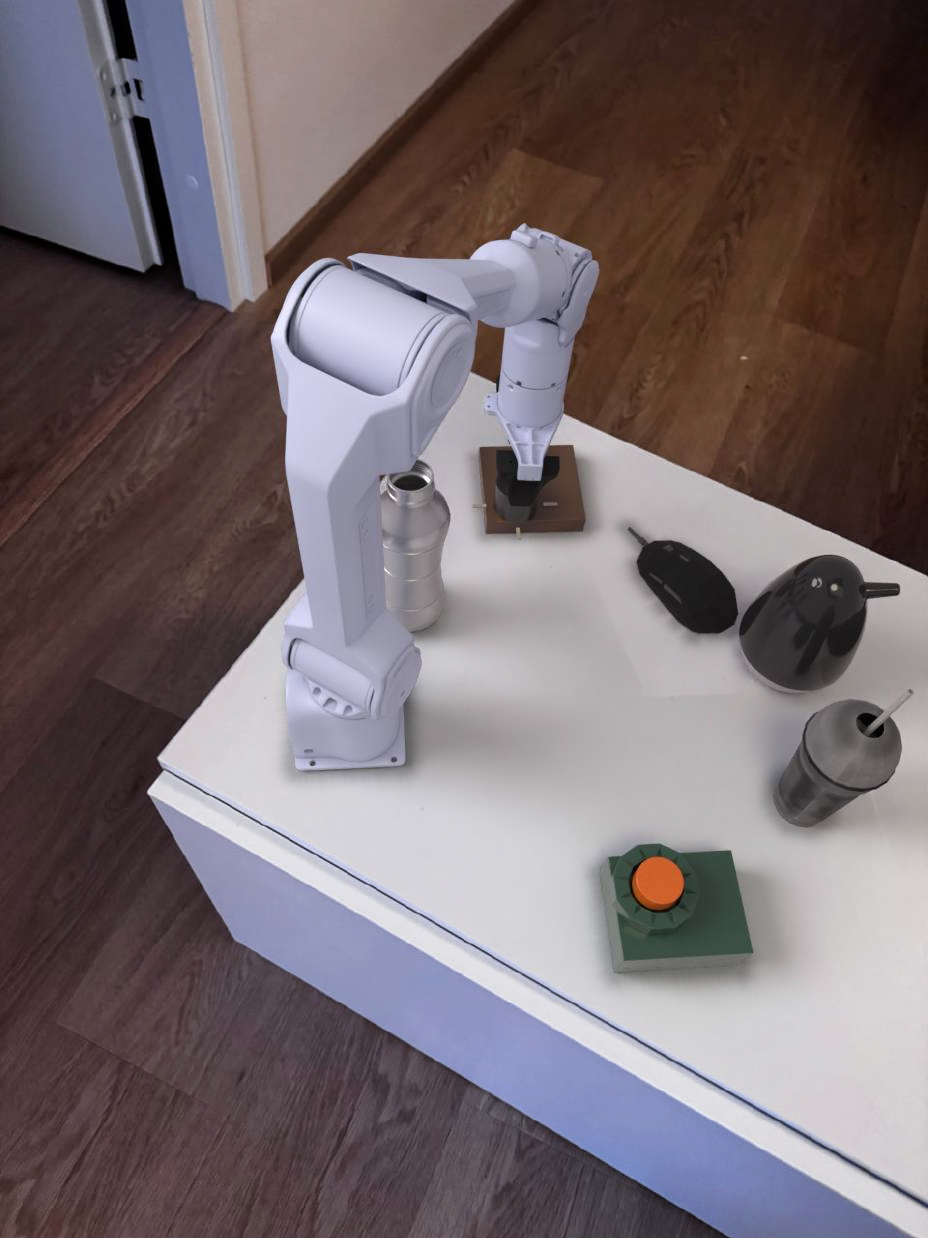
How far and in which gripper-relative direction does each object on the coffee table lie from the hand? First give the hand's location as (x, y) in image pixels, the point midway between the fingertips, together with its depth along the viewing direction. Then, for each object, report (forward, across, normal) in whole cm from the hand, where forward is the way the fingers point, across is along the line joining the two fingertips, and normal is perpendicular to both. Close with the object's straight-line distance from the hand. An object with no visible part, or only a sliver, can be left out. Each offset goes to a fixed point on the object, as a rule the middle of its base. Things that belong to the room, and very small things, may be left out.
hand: (519, 472), depth 93 cm
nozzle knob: (+5, 0, 0) cm, 5 cm away
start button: (+2, +39, +10) cm, 41 cm away
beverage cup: (+7, +30, +25) cm, 39 cm away
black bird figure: (+7, +16, +25) cm, 31 cm away
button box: (+7, +40, +12) cm, 43 cm away
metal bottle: (+7, +12, -10) cm, 17 cm away
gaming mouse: (+7, +7, +16) cm, 19 cm away
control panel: (+7, -2, +1) cm, 8 cm away
